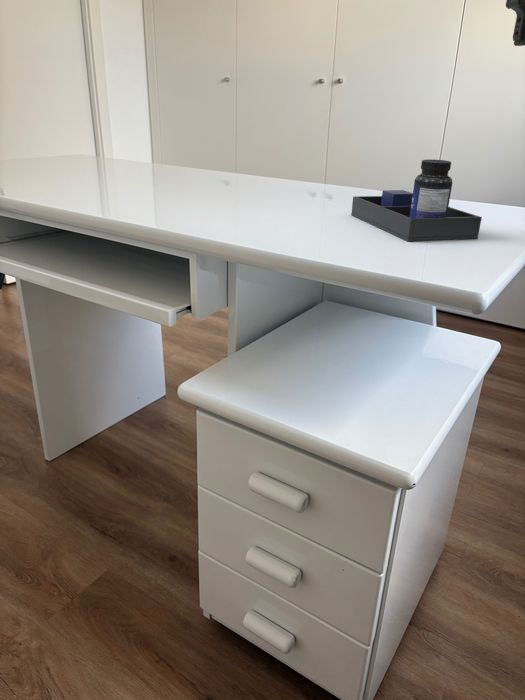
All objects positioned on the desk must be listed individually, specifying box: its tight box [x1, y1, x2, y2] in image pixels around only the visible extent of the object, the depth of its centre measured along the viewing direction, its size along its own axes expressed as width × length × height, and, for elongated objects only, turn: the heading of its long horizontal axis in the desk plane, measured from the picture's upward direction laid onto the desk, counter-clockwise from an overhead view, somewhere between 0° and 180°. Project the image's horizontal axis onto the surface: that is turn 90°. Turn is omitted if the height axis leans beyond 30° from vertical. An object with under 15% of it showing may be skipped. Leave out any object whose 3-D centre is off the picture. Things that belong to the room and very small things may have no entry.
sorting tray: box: [350, 195, 483, 242], centre depth 97 cm, size 13×22×4 cm, turn 16°
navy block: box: [381, 189, 413, 207], centre depth 101 cm, size 4×4×4 cm
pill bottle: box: [410, 159, 453, 219], centre depth 90 cm, size 6×6×11 cm
